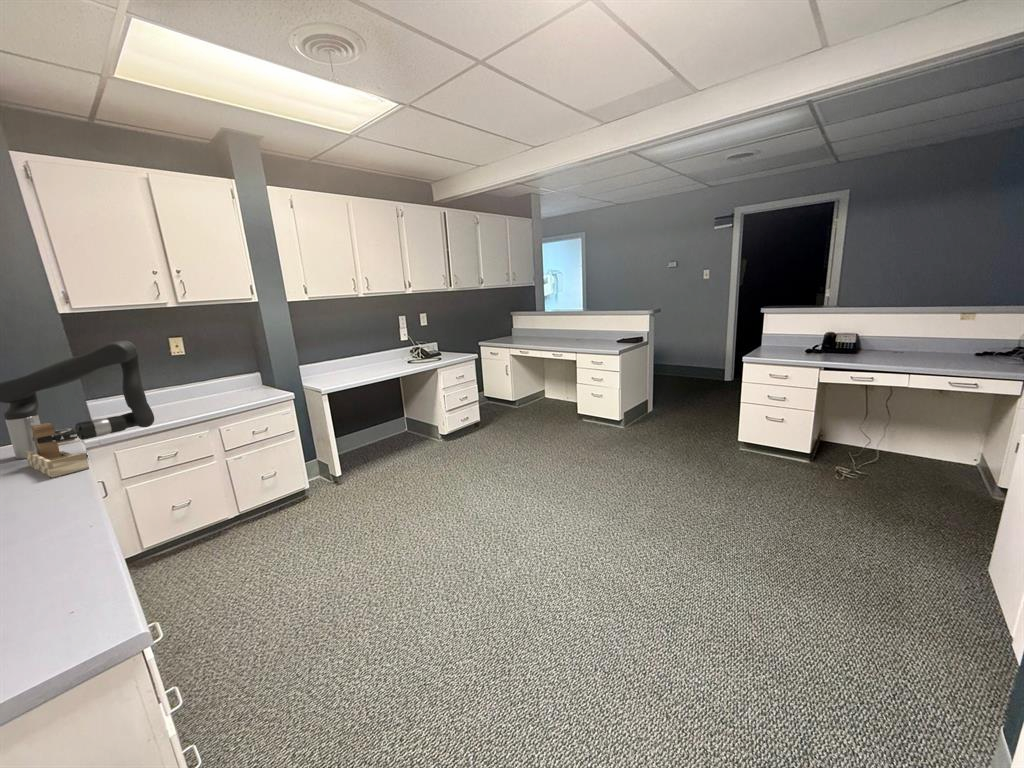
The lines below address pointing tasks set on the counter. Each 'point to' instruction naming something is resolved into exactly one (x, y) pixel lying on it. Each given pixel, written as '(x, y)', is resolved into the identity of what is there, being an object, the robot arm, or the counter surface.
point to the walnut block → (48, 448)
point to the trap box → (58, 463)
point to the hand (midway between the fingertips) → (35, 440)
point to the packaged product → (67, 441)
